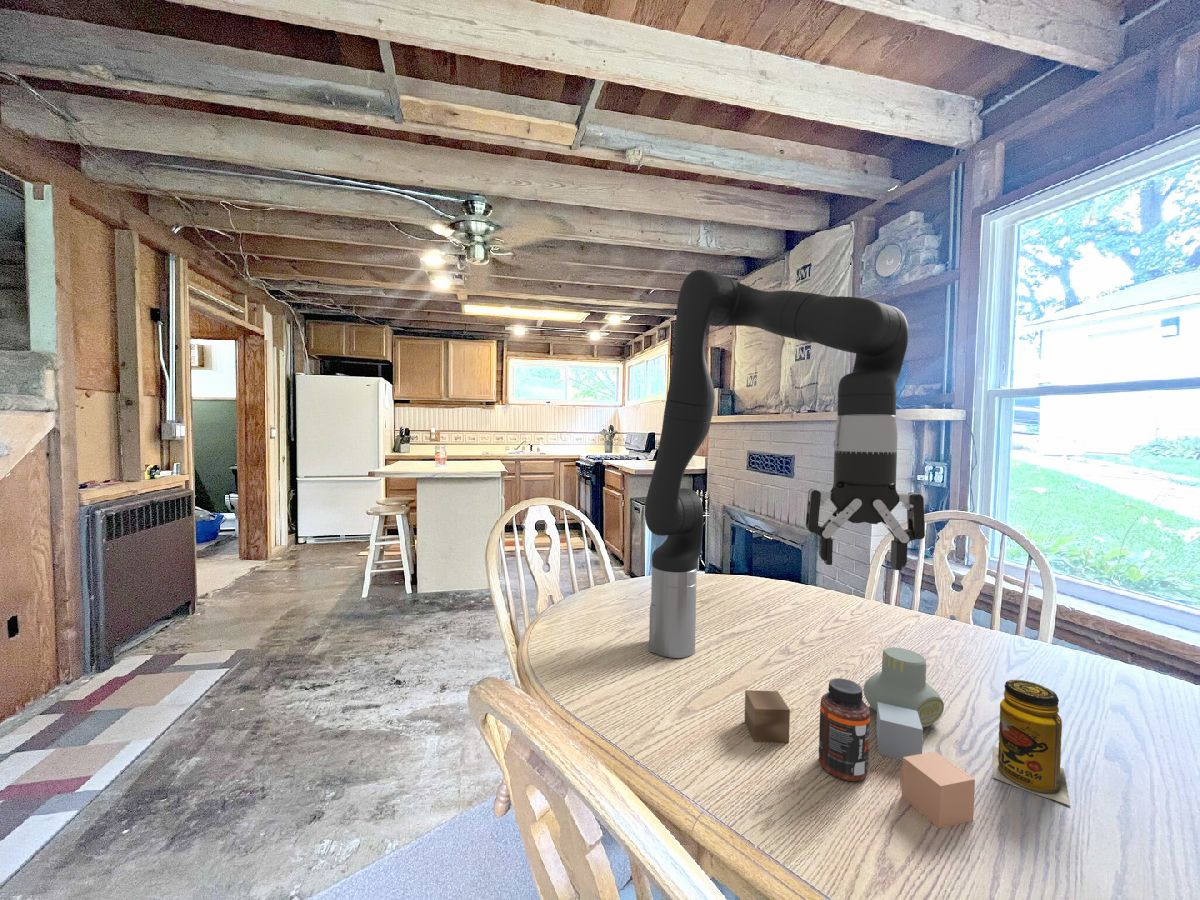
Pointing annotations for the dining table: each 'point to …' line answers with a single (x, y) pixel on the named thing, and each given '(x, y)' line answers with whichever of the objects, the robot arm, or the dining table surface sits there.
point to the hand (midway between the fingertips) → (861, 566)
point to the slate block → (898, 731)
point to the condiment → (1030, 741)
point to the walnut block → (767, 716)
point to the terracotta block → (938, 789)
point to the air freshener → (904, 685)
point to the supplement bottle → (844, 731)
